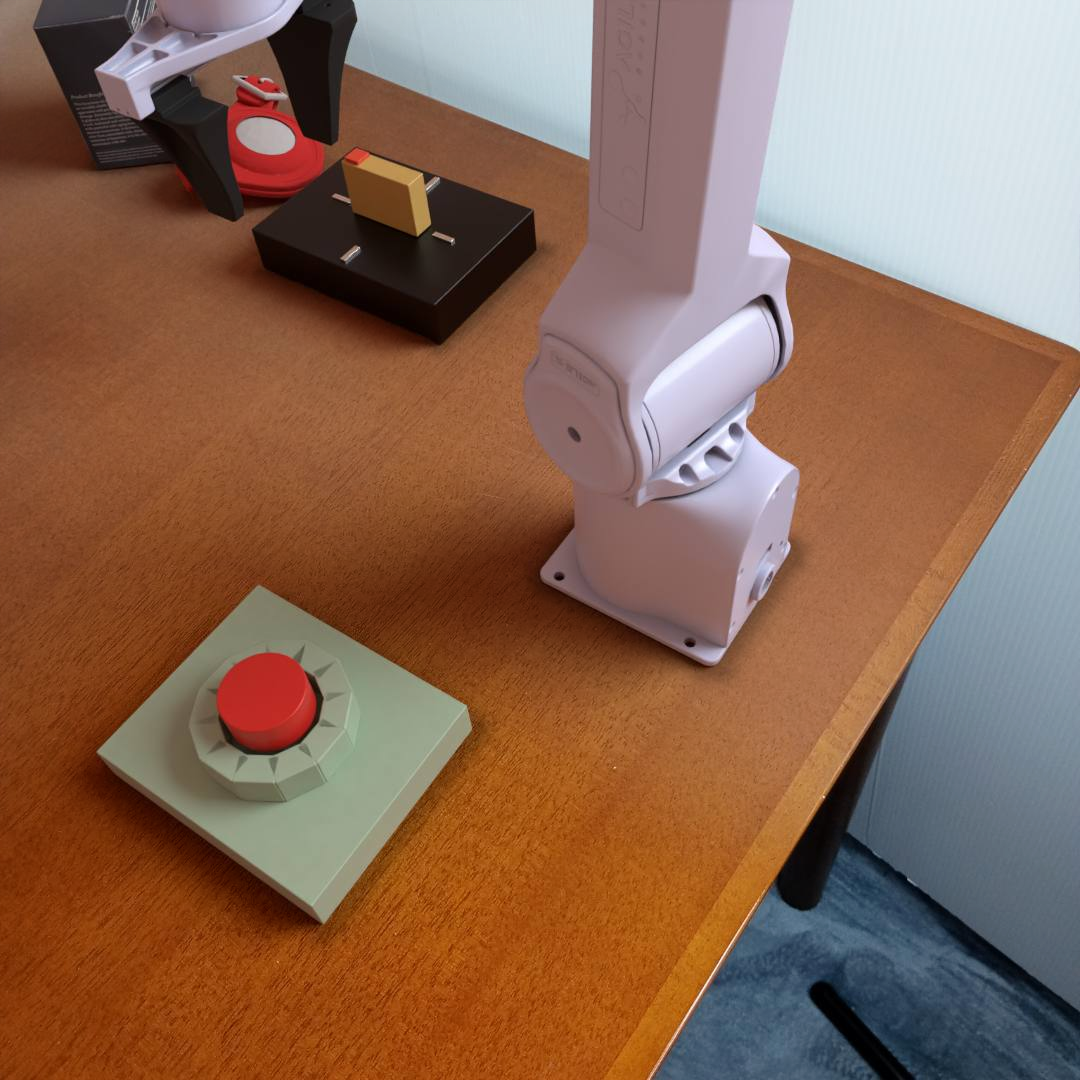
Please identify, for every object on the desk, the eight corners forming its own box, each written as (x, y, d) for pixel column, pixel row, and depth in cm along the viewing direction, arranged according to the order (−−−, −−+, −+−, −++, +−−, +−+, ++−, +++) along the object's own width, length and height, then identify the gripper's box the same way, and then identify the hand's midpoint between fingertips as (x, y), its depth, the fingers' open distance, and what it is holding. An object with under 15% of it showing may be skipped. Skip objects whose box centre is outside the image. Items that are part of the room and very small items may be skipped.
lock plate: (537, 250, 66) (534, 206, 64) (441, 345, 62) (433, 302, 59) (364, 185, 72) (355, 143, 69) (263, 269, 67) (249, 226, 64)
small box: (112, 92, 81) (53, -53, 73) (197, 82, 81) (149, -63, 73) (91, 172, 75) (25, 24, 66) (184, 161, 75) (130, 12, 66)
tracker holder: (353, 164, 71) (208, 187, 66) (344, 215, 75) (206, 241, 70) (276, 50, 76) (135, 64, 71) (272, 103, 79) (137, 120, 74)
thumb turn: (431, 224, 64) (422, 169, 61) (417, 237, 63) (407, 182, 60) (367, 200, 66) (355, 145, 63) (352, 212, 65) (339, 157, 62)
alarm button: (334, 699, 44) (325, 677, 42) (275, 768, 42) (264, 748, 41) (270, 659, 45) (259, 637, 44) (210, 724, 43) (196, 703, 42)
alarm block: (473, 729, 47) (462, 684, 43) (324, 925, 42) (299, 890, 39) (270, 610, 51) (247, 560, 48) (115, 774, 46) (77, 731, 43)
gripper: (240, -177, 51) (306, 90, 62) (1, -50, 44) (123, 226, 55) (354, -153, 48) (402, 121, 59) (119, -14, 41) (222, 268, 52)
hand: (275, 174), depth 57 cm, fingers open, 7 cm apart
